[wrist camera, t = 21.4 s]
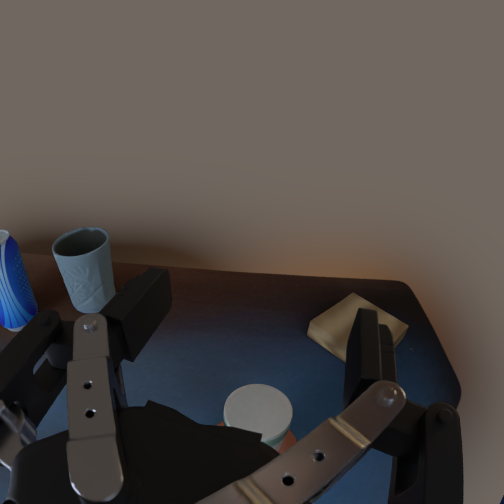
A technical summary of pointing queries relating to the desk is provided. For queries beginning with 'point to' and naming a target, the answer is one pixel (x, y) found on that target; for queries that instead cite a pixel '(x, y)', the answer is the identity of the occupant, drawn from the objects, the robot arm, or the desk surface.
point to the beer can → (14, 286)
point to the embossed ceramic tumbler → (86, 267)
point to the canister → (260, 412)
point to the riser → (348, 325)
